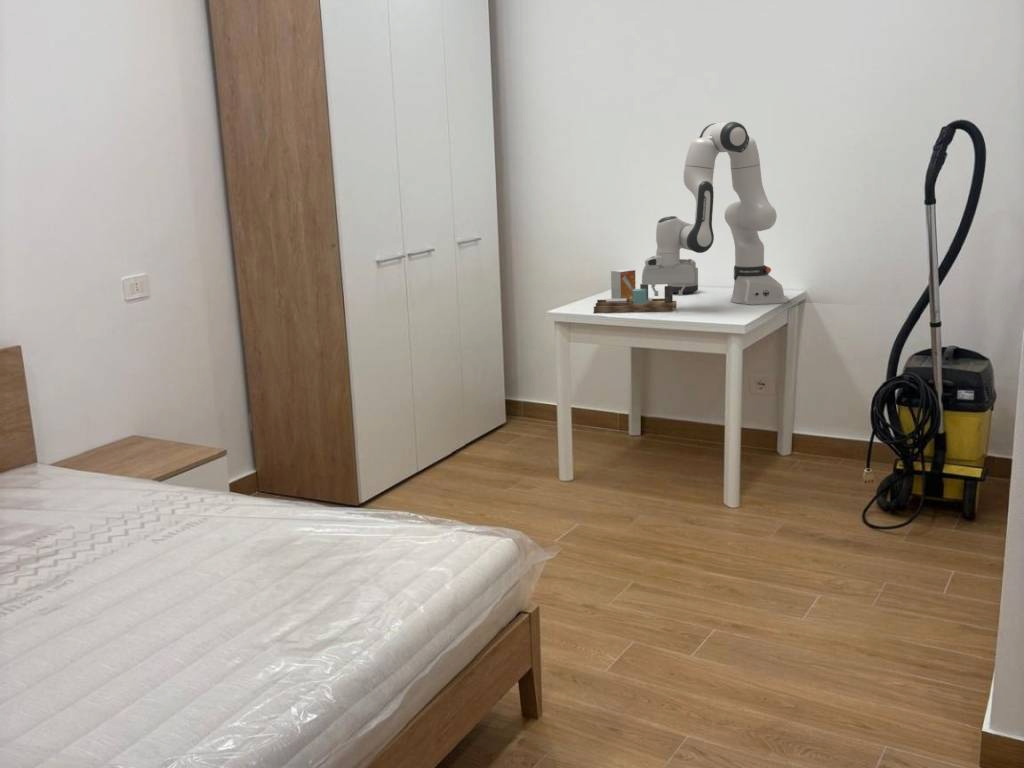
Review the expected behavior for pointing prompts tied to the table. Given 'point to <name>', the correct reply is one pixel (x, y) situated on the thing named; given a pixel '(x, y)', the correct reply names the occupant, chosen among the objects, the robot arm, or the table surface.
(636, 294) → the teal cube
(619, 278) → the small box
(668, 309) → the lane board
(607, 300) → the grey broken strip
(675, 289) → the planter
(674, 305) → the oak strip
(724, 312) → the table surface
